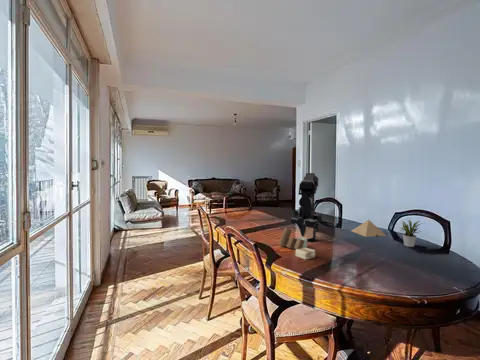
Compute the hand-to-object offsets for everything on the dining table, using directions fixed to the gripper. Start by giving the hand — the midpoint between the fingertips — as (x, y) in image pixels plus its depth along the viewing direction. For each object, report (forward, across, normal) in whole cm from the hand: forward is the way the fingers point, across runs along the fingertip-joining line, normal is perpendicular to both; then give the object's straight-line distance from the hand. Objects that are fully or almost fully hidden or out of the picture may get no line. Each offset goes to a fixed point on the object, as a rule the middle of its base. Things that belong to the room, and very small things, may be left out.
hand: (306, 235), depth 148 cm
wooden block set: (+11, -5, -16) cm, 21 cm away
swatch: (+11, -9, -6) cm, 15 cm away
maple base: (+11, 0, 0) cm, 11 cm away
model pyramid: (+12, -75, -6) cm, 76 cm away
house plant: (+11, -67, +25) cm, 72 cm away
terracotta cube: (+1, 0, 0) cm, 1 cm away
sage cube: (+11, -11, -12) cm, 20 cm away
